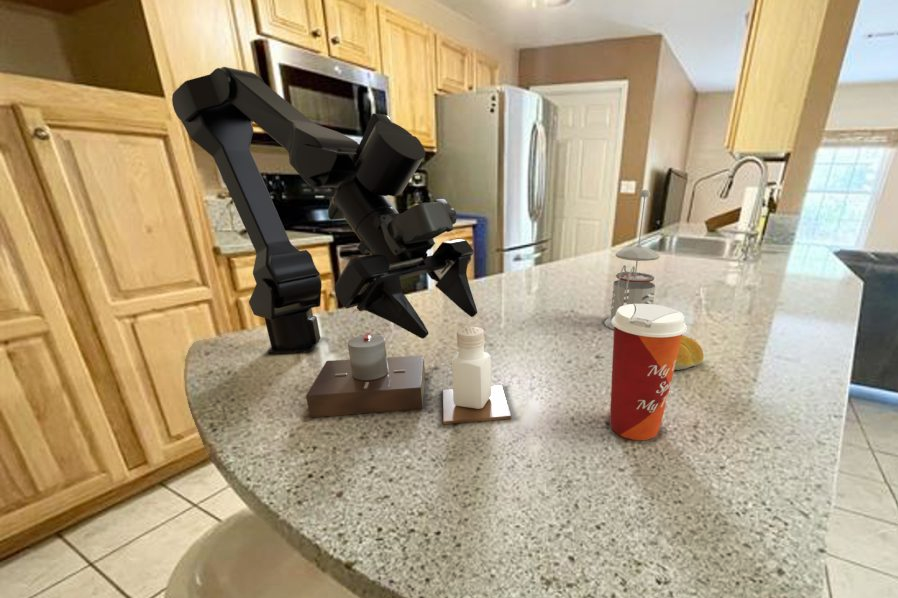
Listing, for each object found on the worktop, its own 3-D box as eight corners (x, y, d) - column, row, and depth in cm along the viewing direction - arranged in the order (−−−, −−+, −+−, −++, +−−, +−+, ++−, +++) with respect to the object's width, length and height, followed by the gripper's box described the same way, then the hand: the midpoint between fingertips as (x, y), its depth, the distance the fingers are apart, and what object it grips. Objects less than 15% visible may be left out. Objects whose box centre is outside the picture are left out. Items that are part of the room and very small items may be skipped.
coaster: (443, 424, 49) (443, 421, 49) (442, 392, 56) (442, 389, 56) (511, 418, 50) (511, 415, 50) (502, 387, 58) (502, 385, 57)
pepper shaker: (482, 411, 51) (480, 338, 47) (452, 407, 52) (447, 334, 48) (493, 396, 54) (491, 327, 51) (464, 392, 55) (461, 323, 52)
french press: (661, 322, 85) (680, 190, 75) (643, 339, 76) (662, 191, 66) (615, 313, 89) (628, 188, 80) (592, 329, 80) (604, 189, 71)
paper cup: (657, 454, 44) (678, 329, 39) (590, 431, 48) (601, 314, 43) (676, 421, 50) (696, 309, 45) (615, 403, 54) (627, 298, 49)
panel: (310, 417, 50) (305, 394, 49) (330, 380, 59) (326, 359, 58) (422, 408, 52) (420, 386, 51) (425, 374, 61) (423, 354, 60)
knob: (386, 379, 53) (382, 343, 51) (349, 381, 52) (343, 345, 50) (390, 364, 57) (386, 331, 55) (355, 366, 56) (350, 333, 54)
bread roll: (711, 363, 66) (716, 339, 65) (674, 376, 62) (678, 351, 60) (668, 346, 73) (672, 324, 71) (632, 356, 68) (635, 333, 67)
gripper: (335, 173, 39) (432, 306, 38) (460, 175, 54) (532, 270, 53) (299, 249, 46) (381, 364, 45) (419, 232, 61) (482, 318, 60)
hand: (452, 324), depth 51 cm, fingers open, 9 cm apart
